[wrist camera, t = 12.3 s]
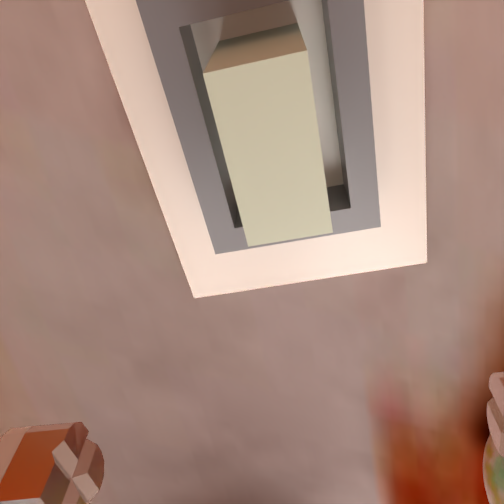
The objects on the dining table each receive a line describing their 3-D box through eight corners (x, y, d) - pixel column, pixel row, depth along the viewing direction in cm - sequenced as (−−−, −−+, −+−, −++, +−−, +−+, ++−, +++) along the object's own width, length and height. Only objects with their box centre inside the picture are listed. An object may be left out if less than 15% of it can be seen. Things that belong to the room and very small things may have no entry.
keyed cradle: (420, 250, 32) (441, 291, 28) (196, 285, 34) (188, 327, 30) (410, -232, 19) (445, -274, 15) (51, -123, 21) (5, -137, 17)
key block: (297, 22, 23) (307, 50, 17) (319, 170, 27) (333, 232, 21) (219, 41, 23) (202, 73, 18) (252, 182, 28) (248, 246, 22)
